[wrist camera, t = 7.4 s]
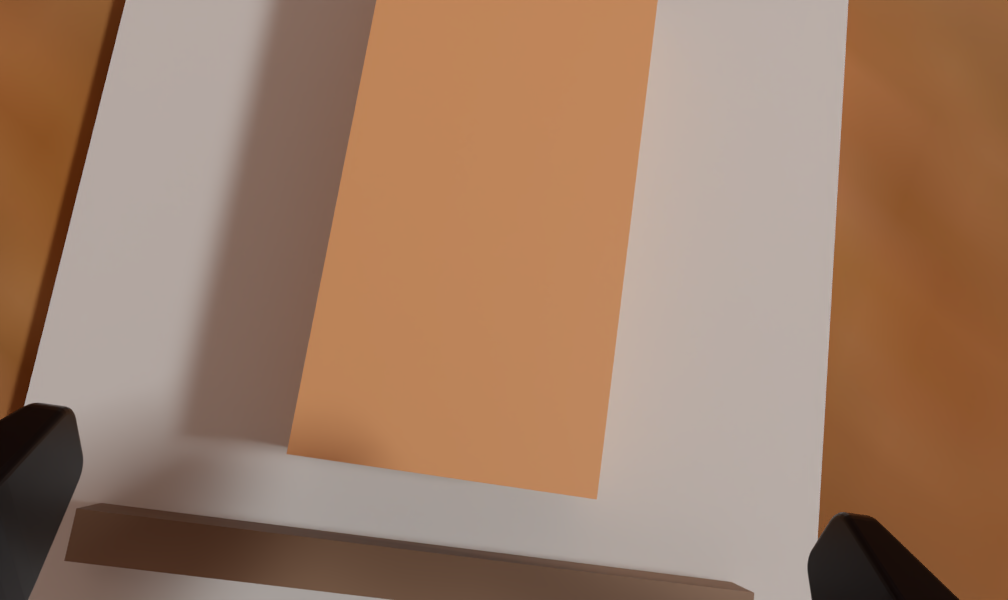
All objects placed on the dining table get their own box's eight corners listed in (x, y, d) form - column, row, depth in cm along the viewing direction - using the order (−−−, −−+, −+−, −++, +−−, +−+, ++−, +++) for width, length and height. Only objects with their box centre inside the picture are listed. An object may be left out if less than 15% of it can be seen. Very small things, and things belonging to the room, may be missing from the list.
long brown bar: (727, 628, 17) (751, 642, 16) (89, 551, 16) (64, 560, 15) (731, 582, 17) (754, 592, 16) (100, 503, 16) (76, 507, 15)
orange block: (596, 499, 15) (664, -48, 17) (286, 454, 14) (396, -105, 17) (570, 489, 17) (631, 14, 20) (305, 450, 17) (399, -33, 19)
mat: (790, 845, 17) (799, 854, 17) (-57, 765, 15) (-69, 773, 15) (846, -99, 21) (854, -109, 21) (193, -237, 20) (188, -251, 19)
